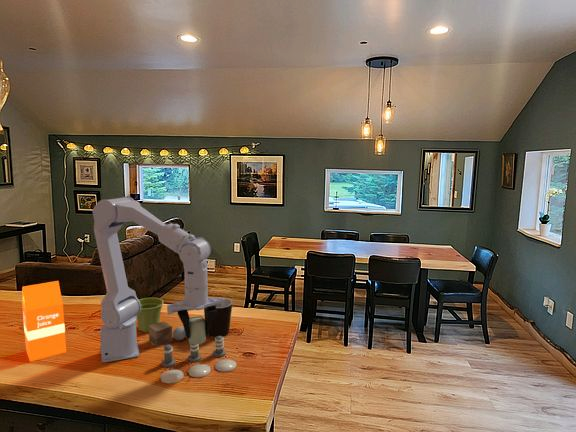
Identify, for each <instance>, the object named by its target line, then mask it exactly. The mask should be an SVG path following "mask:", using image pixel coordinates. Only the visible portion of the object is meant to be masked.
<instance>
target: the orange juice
mask: <svg viewBox="0 0 576 432" xmlns="http://www.w3.org/2000/svg"><path fill="white" fill-rule="evenodd" d="M21 289H22V290H21V298H22V299H21V306H22V318H23V330H24V339H25V340H24V341H25V349H26V350H25V352H26V354H27V357H28V360H29V363H31V362H34V361H37V360H41V359H44V358H45V359H46V358H49V357H52V356H56V355H60V354H63V353H67V343H66V342H67V341H66V327H65V326H66V325H65V315H64V303H63V298H62V293H61V288H60V282H59V280H54V281H49V282H48V281H47V282H43V283H38V284H36V283H35V284H30V285H26V286H25V285H23V286H22V288H21Z"/></svg>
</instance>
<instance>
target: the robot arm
mask: <svg viewBox="0 0 576 432" xmlns="http://www.w3.org/2000/svg"><path fill="white" fill-rule="evenodd" d="M92 217H93V220H94V222H93V223H94V225H93V233H94V238H95V241H96V247H97V253H98V256H99V260H100V261H99V262H100V264H101V265H100V266H101V270H102V274H103V275H102V276H103V279H104V284H105V288H106V294H104V297H103V298H102V299H101V301H100V308H101V309H100V310H101V311H100V319H101V322H102V323H103V325H101V326H100V327H99V328H100V334H99V335H100V337H99V338H100V345H99V353H100V355H101V363H109V362H114V361H120V360H126V359H132V358H137V357H140V349H139V344H138V343H139V342H137V341H138V340H137V339H138V337H137V315H138V314H139V313H140V311H141V304H140V301H139V300H140V299H139V298H138V297H137V294H136V291H135V290H134V289H132V288H131V287H129V286H128V285H129V284H128V279H127V276H126V274H127V273H126V271H125V265H124V260H123V256H122V250H121V247H120V246H121V245H120V242H119V241H120V240H119V237H118V232H119V231H120V230H121V228H122V226H124V224H126V223H127V222H129V223H130V222H133V223H135V224H137V225H139V226H141V227H142V228H144V229H146V230H147V231H149V232H152V233H153V234H155V235H157V237H158V241H159V243H161V244H163V245H164V246H165V247H167V248H169V249H170V250H171V251H173V252H174V253H176V254H178V255H179V259H180V261H181V262H182V264H183V269H184V273H183V274H184V300H182V301H178V302H175V303H170V304H167V305H166V307H167V308H166V311H167V314H168V315H174V314H175V313H177V315H178V318H179V320H180V322H181V323H182V327H184V330H185V335H186V337H185V338H186V339H188V340H189V339H190V332H189V318H190V315H189V311H202V310H203V312H204V313H203V314H204V319H205V328H206V336H210V335H209V331H210V327H211V324H212V321H213V319H214V317H215V315H216V313H217V309H216V307H217V306H221V307H224V306H225V299H224V298H225V297H224V296H223V297H208V296H209V294H208V290H209V289H208V286H209V285H208V258H209V257H210V255H211V252H212V247H211V244H210V243H209V241H208V240H206V239H205V238H204V237H199V236H198V237H196V236H195V235H194V234H192V233H188V232H187V231H186V230H184V229H183V228H180V227H181V225H180V224H178V223H168V224H166V223H165V222H164V221H162V220H160V219H159V218H158V217H156V216H155V215H153V214H152V213H151V212H149V211H148V210H147V209H146V208H145V207H143V206H141V203H140V202H139V201H137V200H134V198H132V197H131V196H122V197H118V198H110V199H109V198H108V199H100V200H99V201H98V202H97V203H96V204H95V206H93V209H92Z"/></svg>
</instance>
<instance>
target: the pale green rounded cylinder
mask: <svg viewBox="0 0 576 432" xmlns="http://www.w3.org/2000/svg"><path fill="white" fill-rule="evenodd" d="M189 332H190V339H188V343H189V345H190V344H194V345H197V344H199V345H201V344H204V343H205V342H206V341H207V337H206V328H205V317H204V318H193V319H190V320H189Z"/></svg>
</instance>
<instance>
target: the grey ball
mask: <svg viewBox="0 0 576 432" xmlns="http://www.w3.org/2000/svg"><path fill="white" fill-rule="evenodd" d="M172 337H173V338H174V339H175V340H176V341H182V340H184V339H185V338H186V335H185V330H184V326H177V327H175V328H174V330H172Z"/></svg>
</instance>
